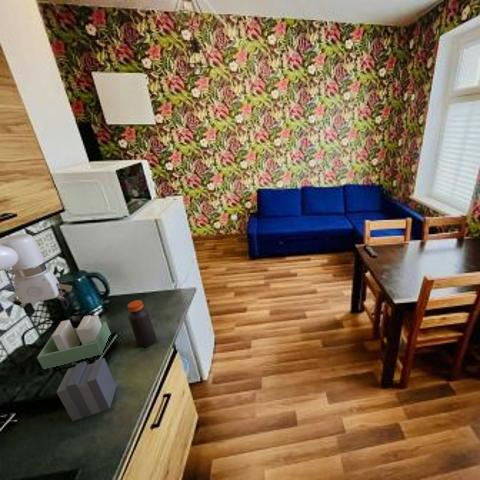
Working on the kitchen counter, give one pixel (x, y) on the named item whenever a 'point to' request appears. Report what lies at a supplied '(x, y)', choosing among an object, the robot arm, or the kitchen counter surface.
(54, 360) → the crate
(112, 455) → the kitchen counter surface
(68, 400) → the grey books
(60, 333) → the white book
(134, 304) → the bottle
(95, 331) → the white books
